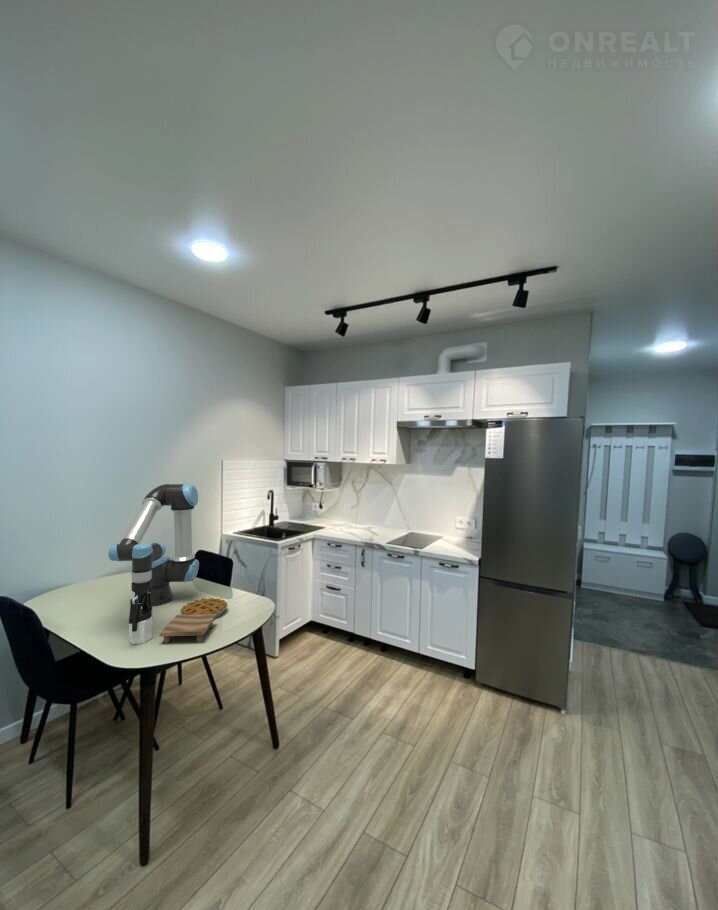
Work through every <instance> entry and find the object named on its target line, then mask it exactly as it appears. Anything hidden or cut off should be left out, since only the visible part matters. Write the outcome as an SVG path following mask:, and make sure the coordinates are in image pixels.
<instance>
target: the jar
mask: <svg viewBox="0 0 718 910" xmlns="http://www.w3.org/2000/svg"><path fill="white" fill-rule="evenodd" d="M152 615H153V609H152V610H151V609H148V608H144V609H142V608H141V611H140V616H139V621H138V622H140V626H139V638H138V639H132V624H129V623H128V642H129V643H130V644H131V645H133V646H134V645H139V644H145V643H147V642H148V641H150V640H152V639H153V616H152Z"/></svg>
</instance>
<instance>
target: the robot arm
mask: <svg viewBox="0 0 718 910" xmlns="http://www.w3.org/2000/svg"><path fill="white" fill-rule="evenodd" d="M145 495H146V496H145V497H144V498H143V500H142V501H141V504H142V505H141V508H140V509H139V511H138V512H137V514H136V516H135V517H134V519H133V520H132V522H131V524H130V526H129V527H128V529H127V531H126V532H125V535H124V536H123V538H122V539H121V540H120V542H119V543H116V544H115V543H114V544H113V545H111V546H110V547H109V550H108V551H107V553H108V554H107V555H108V559H109V560H110V561H112V562H131V574H130V575H131V591H132V592H133V593H134V598H130V600H129V603H130V604H129V606H130V607H129V616H128V625H129V624H132V639H138V638H139V626H140V622H138V621H139V616H140V611H141V609H144V608H148V609H151V610H152V611H153V607H155V606H161V605H165V604H168V603H170V602H171V601H172V600H173V598H174V597H173V595H174V594H173V592H172V589H171V586H170V585H171V584H170V583H186V582H188V583H189V582H192V581H194V580H195V579H196V578H197V575H198V571H199V569H200V568H199V567H200V562H199V559H196V555H195V554H194V553H193V543H192V542H193V541H192V540H193V539H192V538H193V537H192V536H193V535H192V532H193V531H192V529H193V527H192V525H193V523H192V511H194V509H195V506H197V505H198V502H199V492H198V489H197V487H196V486H195V485H194V484H188V483H176V484H175V483H174V484H173V483H172V484H169V483H164V484H161V485H159V486H156V487H155V488H152V490H151V491H149V492H148V493H147V494H145ZM164 506H168V507H169V506H170V510H171V512H173V523H174V525H173V529H174V530H173V532H174V534H173V535H174V555H173V557H170V556H164V555H165V554H166V551H167V550H166V546H165V544H164V543H163V542H159V541H155V542H152V543H147V542H145V543H141V541H142V540H143V537H144V536H145V534H146V533H147V531H148V529H149V527H150V525H151V523H152V521H153V520H154V517H155V516H156V514H157V513H158V512H159V511H160V510H162V508H163V507H164Z"/></svg>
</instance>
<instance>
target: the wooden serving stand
mask: <svg viewBox="0 0 718 910" xmlns="http://www.w3.org/2000/svg"><path fill="white" fill-rule="evenodd" d="M215 620H216V614H201V615H182V614H177V615H175V616H174V618H172V619H171V621H170V622H168V624H167V625H166V626H165V627H164V628H163V629H161V631H160V632H159V635H158V636H159V637H163V644H168V643H171V637H185V636H186V637H187V636H196V643H202V642H203V640H204V635H205V634H206V633H207V631H208V630H209V629H212V628H213V627H214V621H215Z"/></svg>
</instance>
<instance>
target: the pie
mask: <svg viewBox="0 0 718 910" xmlns="http://www.w3.org/2000/svg"><path fill="white" fill-rule="evenodd" d="M227 607H228V602H227V601H225V600H224V599H221V598H214V597H213V598H212V597H209V598H201V599H199V600H198V599H196V600H194V601H192V602H187V603H186V605H185V604H183V606H182V607H181V609H179V610H180V615H201V614H216V618H219V617H221V616H222V615H223V614H224V612H226V609H227ZM216 618H215V619H216Z"/></svg>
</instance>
